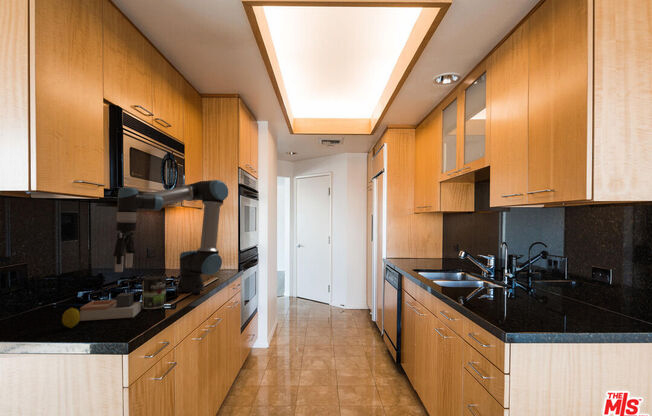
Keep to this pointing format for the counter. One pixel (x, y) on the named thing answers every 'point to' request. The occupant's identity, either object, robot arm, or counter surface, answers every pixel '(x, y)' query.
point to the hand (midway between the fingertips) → (123, 269)
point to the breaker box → (107, 310)
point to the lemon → (71, 317)
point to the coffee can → (154, 292)
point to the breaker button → (124, 300)
